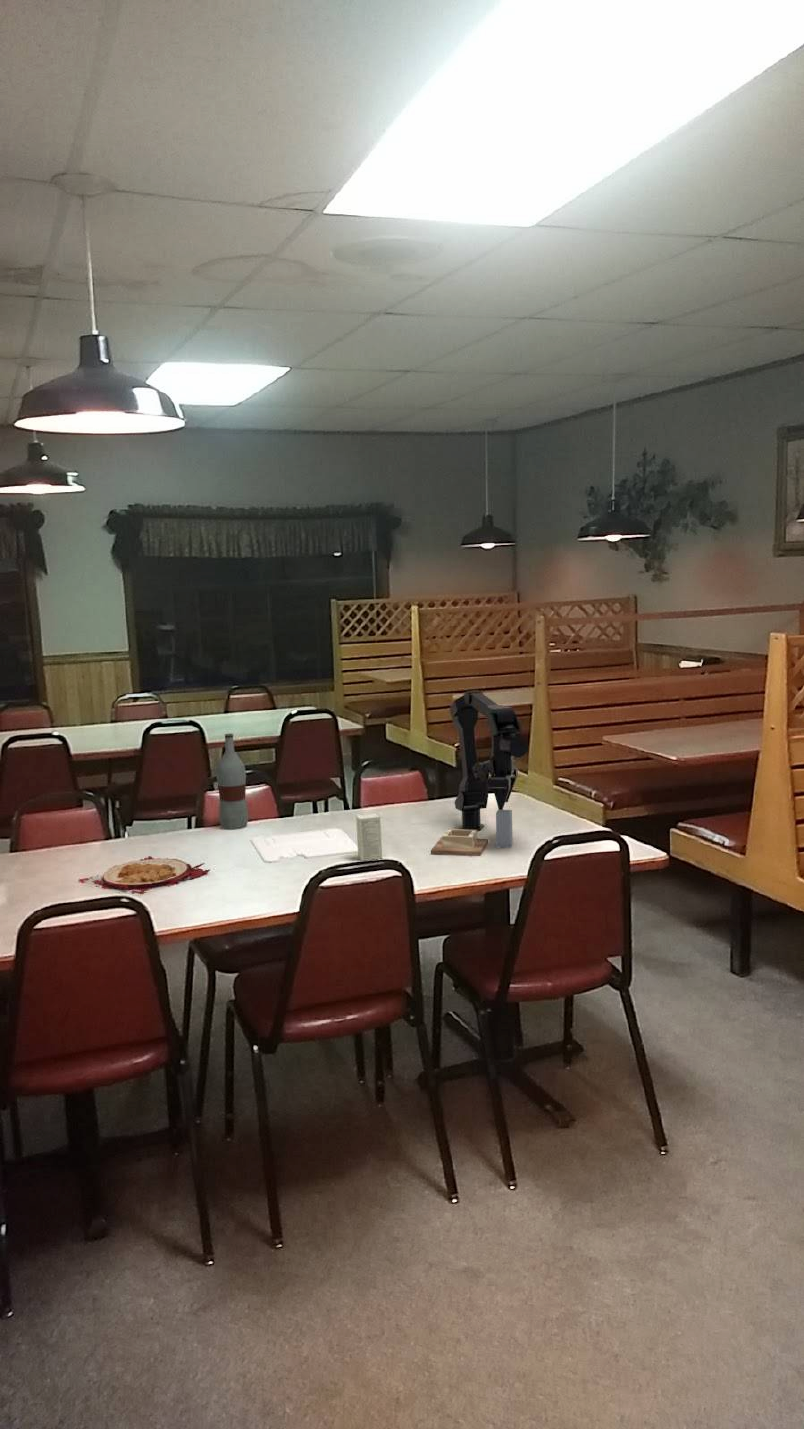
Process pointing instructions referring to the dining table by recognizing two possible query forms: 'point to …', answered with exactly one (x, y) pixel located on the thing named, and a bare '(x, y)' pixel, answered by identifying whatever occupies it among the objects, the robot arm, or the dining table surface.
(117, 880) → the plate with food
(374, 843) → the skincare box
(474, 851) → the socket block
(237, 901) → the dining table surface
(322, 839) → the tray
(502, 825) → the peg
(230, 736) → the bottle
